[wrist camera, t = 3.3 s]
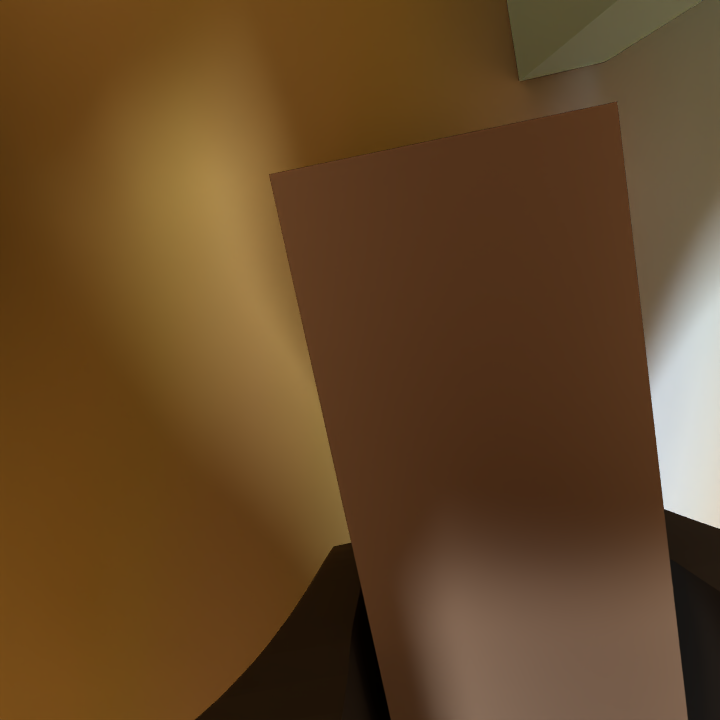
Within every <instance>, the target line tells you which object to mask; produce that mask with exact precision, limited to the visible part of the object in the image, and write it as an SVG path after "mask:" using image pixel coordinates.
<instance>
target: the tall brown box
mask: <svg viewBox="0 0 720 720" xmlns="http://www.w3.org/2000/svg"><path fill="white" fill-rule="evenodd" d="M269 176H270V181H271V185H272V189H273V194H274V198H275V203H276V207H277V212H278V216H279V221H280V225H281V230H282V234H283V239H284V243H285V248H286V252H287V257H288V261H289V266H290V270H291V275H292V279H293V284H294V288H295V292H296V297H297V301H298V306H299V310H300V315H301V319H302V324H303V328H304V333H305V337H306V342H307V346H308V351H309V355H310V360H311V364H312V369H313V373H314V378H315V382H316V386H317V391H318V395H319V400H320V404H321V409H322V413H323V418H324V422H325V427H326V431H327V436H328V440H329V445H330V449H331V454H332V458H333V463H334V467H335V472H336V476H337V481H338V485H339V489H340V494H341V498H342V503H343V507H344V512H345V516H346V521H347V525H348V530H349V534H350V539H351V543H352V548H353V552H354V557H355V561H356V566H357V570H358V575H359V579H360V583H361V588H362V592H363V597H364V601H365V606H366V610H367V615H368V619H369V624H370V628H371V633H372V637H373V642H374V646H375V651H376V655H377V660H378V664H379V669H380V673H381V678H382V682H383V686H384V691H385V695H386V700H387V704H388V709H389V713H390V718H391V720H688V716H687V707H686V698H685V690H684V681H683V672H682V663H681V655H680V646H679V637H678V629H677V620H676V611H675V602H674V594H673V585H672V576H671V567H670V559H669V550H668V541H667V533H666V524H665V515H664V506H663V498H662V489H661V480H660V472H659V463H658V454H657V445H656V437H655V428H654V419H653V410H652V402H651V393H650V384H649V376H648V367H647V358H646V349H645V341H644V332H643V323H642V314H641V306H640V297H639V288H638V280H637V271H636V262H635V253H634V245H633V236H632V227H631V219H630V210H629V201H628V192H627V184H626V175H625V166H624V157H623V149H622V140H621V131H620V123H619V114H618V105H617V102H613V103H608V104H604V105H599V106H594V107H589V108H585V109H580V110H575V111H570V112H565V113H561V114H556V115H551V116H546V117H542V118H537V119H532V120H527V121H522V122H518V123H513V124H508V125H503V126H499V127H494V128H489V129H484V130H479V131H475V132H470V133H465V134H460V135H456V136H451V137H446V138H441V139H436V140H432V141H427V142H422V143H417V144H412V145H408V146H403V147H398V148H393V149H389V150H384V151H379V152H374V153H369V154H365V155H360V156H355V157H350V158H346V159H341V160H336V161H331V162H326V163H322V164H317V165H312V166H307V167H303V168H298V169H293V170H288V171H283V172H279V173H274V174H269Z"/></svg>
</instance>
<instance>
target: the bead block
mask: <svg viewBox="0 0 720 720" xmlns="http://www.w3.org/2000/svg"><path fill="white" fill-rule="evenodd" d="M701 1H703V0H507V6H508V12H509V19H510V25H511V31H512V38H513V44H514V50H515V57H516V63H517V69H518V76H519V81H523V80H527V79H532V78H536V77H541V76H545V75H549V74H554V73H558V72H563V71H567V70H571V69H576V68H580V67H585V66H589V65H593V64H598V63H602V62H606V61H607V60H609V59H611V58H612V57H614V56H615V55H617V54H619V53H620V52H622V51H623V50H625V49H627V48H628V47H630V46H631V45H633V44H634V43H636V42H638V41H639V40H641V39H642V38H644V37H646V36H647V35H649V34H650V33H652V32H654V31H655V30H657V29H658V28H660V27H662V26H663V25H665V24H666V23H668V22H670V21H671V20H673V19H674V18H676V17H678V16H679V15H681V14H682V13H684V12H686V11H687V10H689V9H690V8H692V7H693V6H695V5H697V4H698V3H700V2H701Z"/></svg>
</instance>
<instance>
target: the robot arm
mask: <svg viewBox="0 0 720 720" xmlns="http://www.w3.org/2000/svg"><path fill="white" fill-rule="evenodd" d="M664 515H665V524H666V533H667V541H668V550H669V559H670V567H671V576H672V585H673V594H674V602H675V611H676V620H677V629H678V637H679V646H680V655H681V663H682V672H683V681H684V690H685V698H686V707H687V716H688V720H720V529H718V528H715V527H712V526H709V525H707V524H704V523H701V522H698V521H695V520H692V519H690V518H687V517H684V516H681V515H678V514H676V513H673V512H670V511H668V510H665V509H664ZM195 720H391V718H390V713H389V709H388V704H387V700H386V695H385V691H384V686H383V682H382V678H381V673H380V669H379V664H378V660H377V655H376V651H375V646H374V642H373V637H372V633H371V628H370V624H369V619H368V615H367V610H366V606H365V601H364V597H363V592H362V588H361V583H360V579H359V575H358V570H357V566H356V561H355V557H354V552H353V548H352V543H348V544H343V545H339V546H334V547H333V548H332V550H331V551H330V553H329V554H328V556H327V557H326V559H325V561H324V562H323V564H322V566H321V567H320V569H319V571H318V572H317V574H316V576H315V577H314V579H313V581H312V582H311V584H310V586H309V587H308V589H307V590H306V592H305V593H304V595H303V597H302V598H301V600H300V601H299V603H298V604H297V606H296V607H295V609H294V610H293V612H292V613H291V615H290V616H289V618H288V619H287V620H286V622H285V623H284V624H283V626H282V627H281V628H280V630H279V631H278V632H277V634H276V635H275V636H274V638H273V639H272V640H271V642H270V643H269V644H268V646H267V647H266V648H265V649H264V650H263V652H262V653H261V654H260V655H259V656H258V658H257V659H256V660H255V661H254V662H253V663H252V664H251V666H250V667H249V668H248V669H247V670H246V671H245V672H244V673H243V674H242V675H241V676H240V677H239V678H238V679H237V681H236V682H235V683H234V684H233V685H232V686H231V687H230V688H229V689H228V690H227V691H226V692H225V693H224V694H223V695H222V696H221V697H220V698H219V699H218V700H217V701H216V702H215V703H213V704H212V705H211V706H210V707H209V708H208V709H207V710H206V711H204V712H203V713H202V714H201V715H200V716H199V717H198V718H197V719H195Z"/></svg>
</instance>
